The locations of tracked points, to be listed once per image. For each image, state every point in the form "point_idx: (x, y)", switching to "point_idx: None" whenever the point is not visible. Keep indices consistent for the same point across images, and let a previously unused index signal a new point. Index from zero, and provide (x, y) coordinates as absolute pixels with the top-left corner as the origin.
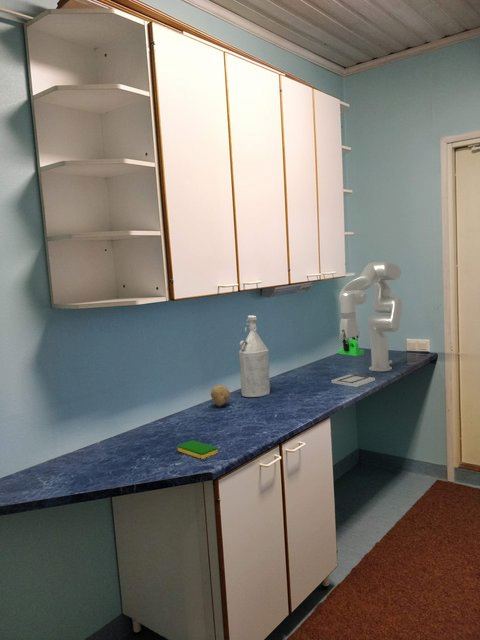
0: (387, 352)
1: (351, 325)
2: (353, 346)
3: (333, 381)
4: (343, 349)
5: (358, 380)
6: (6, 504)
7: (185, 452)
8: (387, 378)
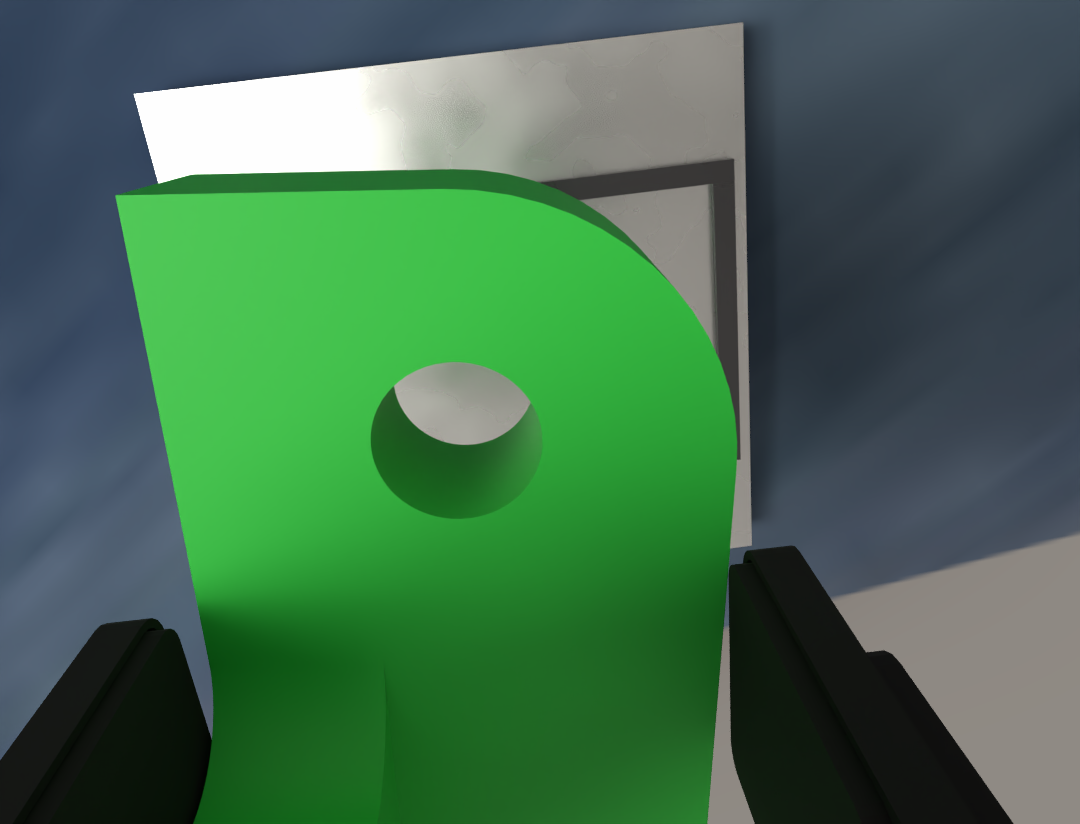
0: None
1: None
2: (756, 703)
3: (156, 145)
4: (360, 355)
5: None
6: None
7: None
8: (938, 560)
